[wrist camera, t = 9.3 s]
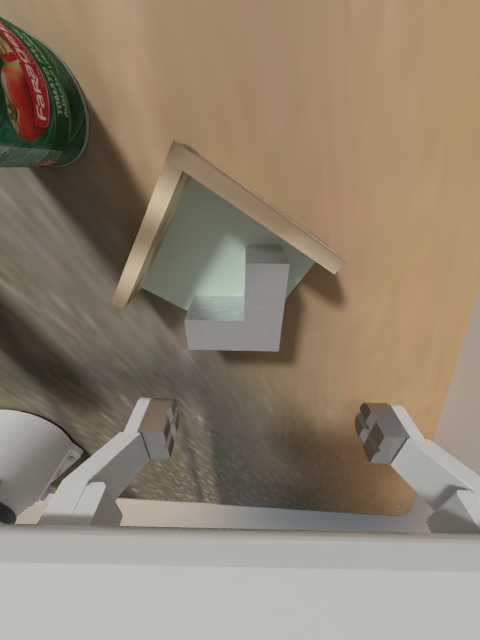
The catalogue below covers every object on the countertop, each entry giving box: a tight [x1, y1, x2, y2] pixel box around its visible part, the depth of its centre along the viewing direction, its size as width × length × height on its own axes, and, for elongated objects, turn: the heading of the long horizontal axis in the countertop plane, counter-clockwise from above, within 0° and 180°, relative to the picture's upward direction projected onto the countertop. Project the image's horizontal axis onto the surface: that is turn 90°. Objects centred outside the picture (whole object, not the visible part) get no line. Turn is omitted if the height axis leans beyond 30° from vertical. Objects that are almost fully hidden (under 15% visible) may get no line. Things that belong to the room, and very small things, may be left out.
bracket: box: [184, 246, 290, 351], centre depth 24 cm, size 9×9×5 cm
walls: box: [111, 140, 345, 309], centre depth 23 cm, size 14×15×5 cm
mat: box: [142, 145, 327, 311], centre depth 25 cm, size 14×15×1 cm
